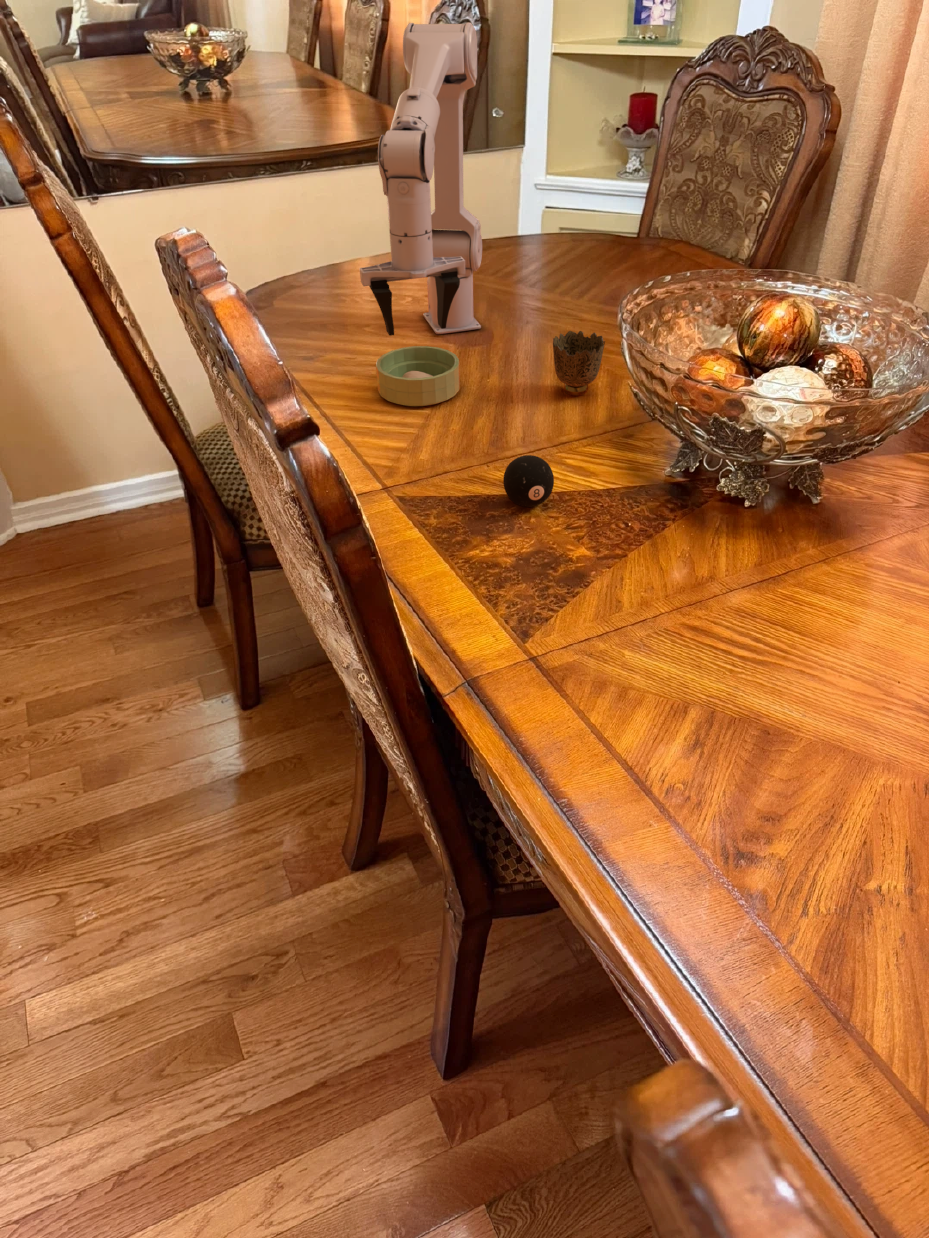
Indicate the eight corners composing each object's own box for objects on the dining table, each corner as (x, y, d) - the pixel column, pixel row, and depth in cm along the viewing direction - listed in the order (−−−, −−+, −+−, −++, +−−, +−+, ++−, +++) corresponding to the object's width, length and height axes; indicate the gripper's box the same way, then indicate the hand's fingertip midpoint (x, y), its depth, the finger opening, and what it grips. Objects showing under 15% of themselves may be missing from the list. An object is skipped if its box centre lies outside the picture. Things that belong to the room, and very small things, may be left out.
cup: (542, 397, 131) (544, 345, 126) (562, 378, 136) (564, 327, 131) (589, 407, 128) (593, 353, 123) (607, 387, 133) (612, 335, 128)
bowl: (371, 380, 137) (368, 352, 134) (447, 369, 140) (446, 341, 137) (388, 414, 128) (385, 384, 125) (469, 402, 130) (468, 373, 128)
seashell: (398, 385, 134) (397, 369, 133) (430, 379, 136) (429, 363, 134) (407, 396, 131) (406, 380, 130) (439, 390, 132) (439, 374, 131)
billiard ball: (512, 519, 106) (512, 475, 102) (497, 494, 110) (497, 450, 106) (559, 511, 107) (562, 467, 103) (543, 486, 111) (544, 443, 108)
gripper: (363, 245, 115) (372, 346, 124) (470, 233, 118) (472, 333, 126) (353, 230, 120) (362, 328, 129) (456, 219, 123) (458, 316, 132)
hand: (416, 329), depth 128 cm, fingers open, 7 cm apart
